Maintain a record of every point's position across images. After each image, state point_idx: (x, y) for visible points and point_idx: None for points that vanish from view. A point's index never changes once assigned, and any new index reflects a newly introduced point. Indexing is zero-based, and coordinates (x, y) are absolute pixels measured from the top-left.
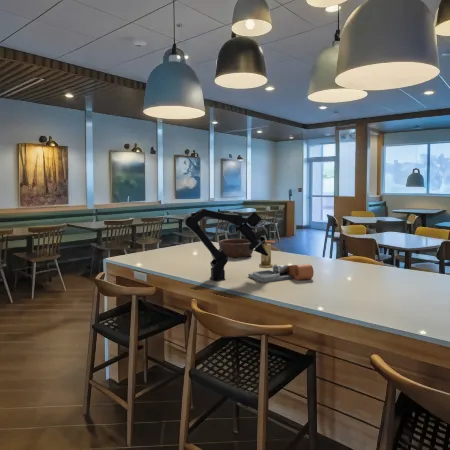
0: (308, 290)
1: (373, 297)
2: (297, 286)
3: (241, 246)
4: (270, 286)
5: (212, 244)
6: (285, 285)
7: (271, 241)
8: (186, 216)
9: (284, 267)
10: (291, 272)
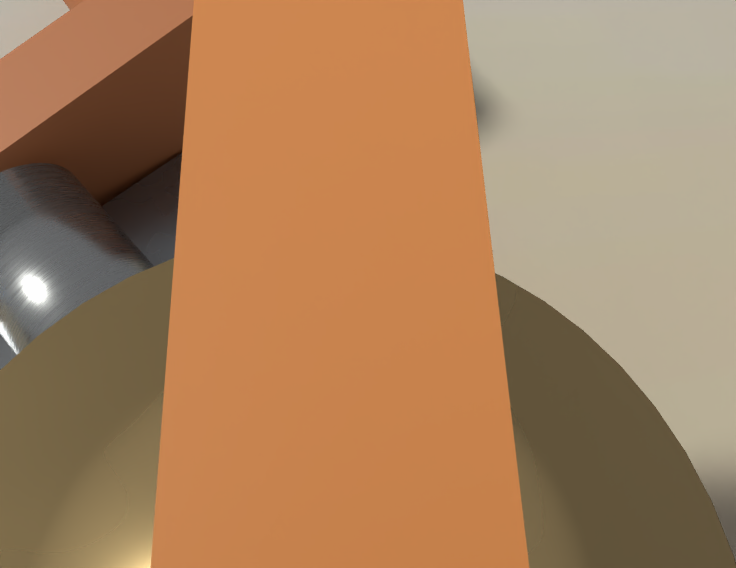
0: (679, 3)
1: None
2: (579, 99)
3: None
4: (716, 392)
5: None
6: (592, 223)
7: (446, 19)
8: None
9: (96, 225)
10: (126, 157)
